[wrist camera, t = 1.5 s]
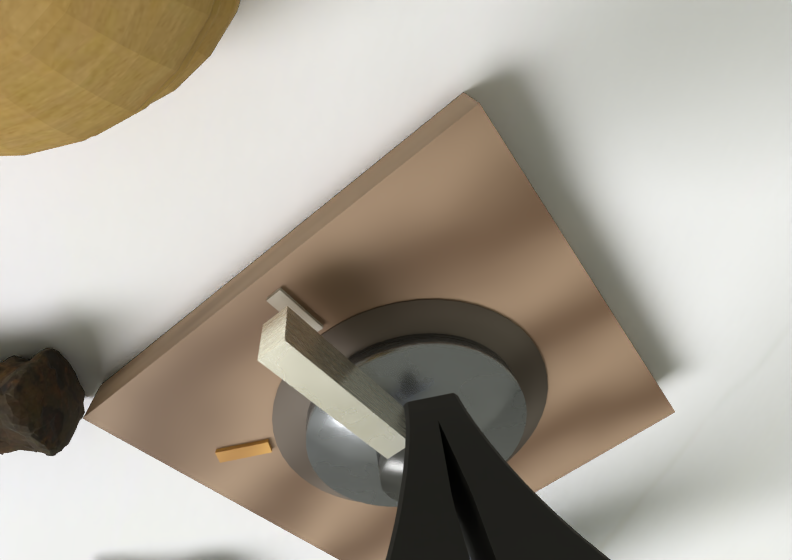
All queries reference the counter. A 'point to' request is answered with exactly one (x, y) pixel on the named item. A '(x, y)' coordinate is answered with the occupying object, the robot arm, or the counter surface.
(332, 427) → the dial
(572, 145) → the counter surface
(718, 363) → the counter surface
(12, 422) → the brown rough bar
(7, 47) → the pot
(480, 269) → the dial board
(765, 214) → the counter surface
